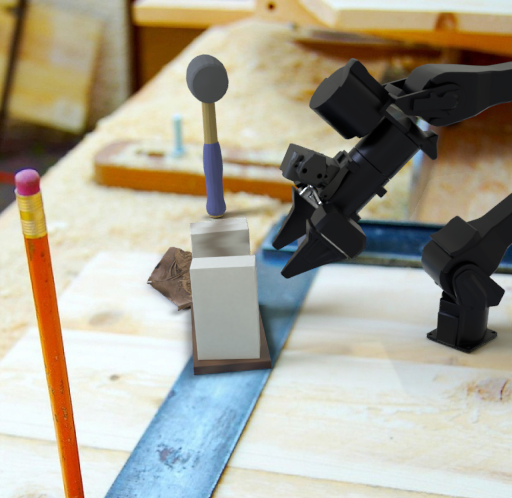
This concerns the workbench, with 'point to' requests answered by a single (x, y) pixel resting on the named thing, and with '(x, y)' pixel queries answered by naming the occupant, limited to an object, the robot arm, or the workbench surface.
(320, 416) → the workbench surface
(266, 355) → the marble panel stand
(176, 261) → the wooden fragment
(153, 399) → the workbench surface
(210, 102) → the rubber mallet
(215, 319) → the white rectangular block
